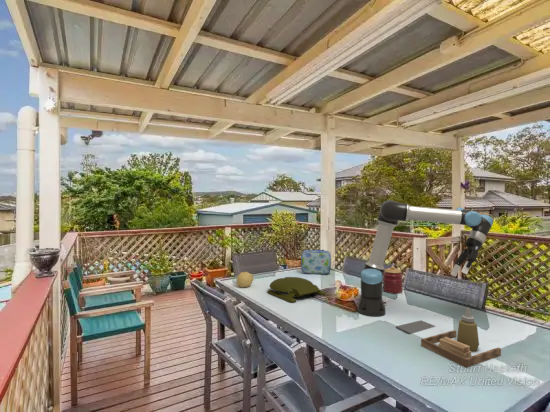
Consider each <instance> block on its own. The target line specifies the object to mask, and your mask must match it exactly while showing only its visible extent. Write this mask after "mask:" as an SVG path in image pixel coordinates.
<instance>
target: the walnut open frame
mask: <svg viewBox="0 0 550 412" xmlns="http://www.w3.org/2000/svg"><path fill="white" fill-rule="evenodd" d="M444 337H447V338H450V339H456V338H457V330H455V329H454V330H449V331H446V332H443V333H439V334H435V335H431V336H428V337H423V338H420V346H421V347H422V348H425V349H427V350H429V351H430V352H434V353H435V354H437V355H440V356H441V357H443V358H446V359H447V360H449V361H452V362H453V363H456V364H458V365H460V366H462V367H463V368H470V367H473V366H476V365H478V364H481V363H483V362H486V361H489V360H491V359H494V358H498V357H500V356H502V348H501V347H495V348H492V349H489V350H486V351H483V352H481V353H477V354H474V355H471V357H468V358H464V357H461V356H459V355H457V354H455V353H453V352H451V351H448V350H446V349H444V348H442V347H440V346H438V344H439V343H440V339H442V338H444Z"/></svg>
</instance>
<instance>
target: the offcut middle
mask: <svg viewBox="0 0 550 412" xmlns="http://www.w3.org/2000/svg"><path fill="white" fill-rule="evenodd" d="M437 345H438V346H440V347H442V348H444V349H446V350H448V351H451V352H453V353H455V354H457V355H459V356H461V357H464V358H468V357H471V356H472V351H469V352H467V353H464V354H462V353H460V352H458V351H455V350H453V349H450V348H448V347H446V346H443V345H441V344H440V342H438V343H437Z"/></svg>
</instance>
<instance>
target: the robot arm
mask: <svg viewBox="0 0 550 412" xmlns="http://www.w3.org/2000/svg"><path fill="white" fill-rule="evenodd" d="M408 220H409V221H410V220H411V221H418V222H419V221H420V222H431V223H442V224H453V225H461V226H462V225H463V226H466V227H469V228H470V229H471V231H470V232H469V234H468V236H467V239H466V241H465V242H464V243H465V244H464V245H465V246H466V248H463V250H462V252H461V253H460V254H459V256H458V258H457V259H456V260H455V261H454V263H453V264H454V267H453V269H452V271H451V272H450V275H451V276H452V277H457V274H458V273H459V271H460V269H461V268H462V269H461V271H460V272H461V273H463V274H464V275H466V276H467V275H468V273H469V270H470V269H471V267H472V266H473V263H474V262H476V261H477V258H478V254H479V253H478V252H479V251H480V250H481V248H482V247H483V243H485V241H486V239H487V235H488V234H489V232H490V230H491V229H492V227H493V224H494V219H493V217H491V216H490V215H487V214H480V213H479V212H477V211H474V210H467V209H466V208H463V207H460V206H458V207H457V208H456V209H451V208H450V209H449V208H437V207H428V206H427V207H425V206H414V205H409V204H408V203H402V202H399V201H398V202H397V201H395V200H391V199H389V200H386V201H384V202H383V203H382V204H381V205H380V207H379V213H378V216H377V222H378V225H377V230H376V233H375V238H374V240H373V245H372V247H371V251H370V255H369V259H368V261H365V264H364V266H363V267H364V268H363V270H361V272H360V299H359V302H358V305H357V312H358V313H359V314H362V315H365V316H368V317H382V316H385V315H386V307H385V304H384V300H383V278H384V275H383V274H384V272H385V271H384V270H385V269H386V268H385V267H384V263H385V260H386V256H387V252H388V248H389V246H390V242H391V239H392V235H393V231H394V228H395V227H397V226H398V223H399V221H400V222H401V221H403V222H407V221H408ZM464 262H465V263H464ZM463 263H464V264H463ZM462 265H464V266H463V267H462Z"/></svg>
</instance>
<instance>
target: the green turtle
mask: <svg viewBox="0 0 550 412" xmlns="http://www.w3.org/2000/svg"><path fill="white" fill-rule="evenodd" d="M269 288H270V289H269V290H268V289H267V291H266V292H267V294H269V295H271V296H274V297H276V298H278V299H280V300H284V301H286V302H288V303H289V304H290V303H292V304H293V303H294V304H295V303H296V302H297V299H296V298H299V297H304V296H308V295H312V294H313V295H314V294H315V293H316V295H318V294H319V296H322V295H323V296H326V295H327V293H326V292H325V291H324V290H320V288H319V287H318V286H317V285H316V284H313V282H312V281H310V280H309V279H306V278H304V277H298V276H297V277H296V276H286V277H281V278H276V279H274V280H273V281H272V282H271V283H269ZM285 293H287V294H285ZM325 294H326V295H325ZM295 297H296V298H295Z"/></svg>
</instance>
